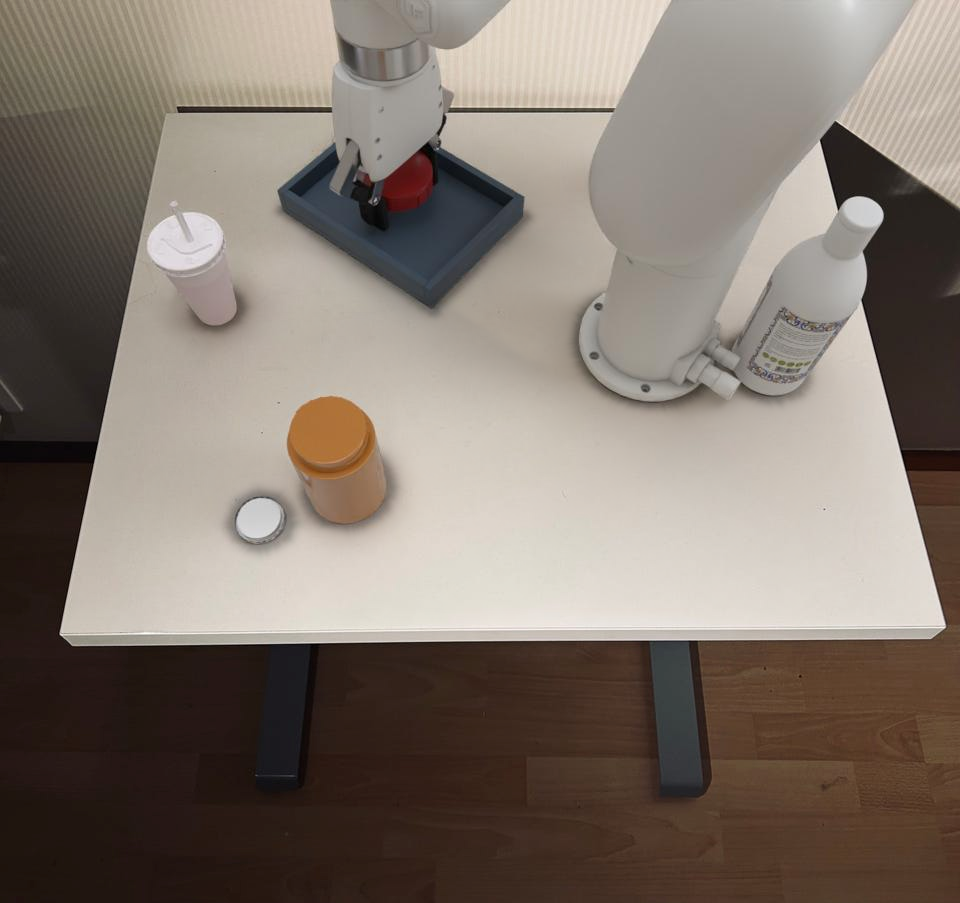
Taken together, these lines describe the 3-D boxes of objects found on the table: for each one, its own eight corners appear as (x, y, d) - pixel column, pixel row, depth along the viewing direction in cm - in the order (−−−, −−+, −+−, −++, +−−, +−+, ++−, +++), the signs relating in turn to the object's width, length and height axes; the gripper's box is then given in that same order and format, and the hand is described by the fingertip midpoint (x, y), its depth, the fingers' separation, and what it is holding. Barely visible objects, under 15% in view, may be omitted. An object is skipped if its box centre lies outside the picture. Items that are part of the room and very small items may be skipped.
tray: (523, 216, 81) (524, 196, 78) (431, 308, 76) (430, 290, 73) (377, 129, 86) (375, 108, 84) (282, 210, 81) (276, 190, 78)
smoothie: (238, 343, 74) (191, 240, 61) (172, 331, 74) (112, 226, 62) (260, 288, 77) (219, 179, 64) (197, 277, 77) (144, 166, 65)
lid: (347, 187, 77) (344, 173, 76) (395, 148, 80) (393, 133, 78) (400, 223, 76) (399, 209, 74) (447, 181, 78) (447, 167, 76)
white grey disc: (261, 553, 65) (259, 550, 64) (226, 525, 66) (223, 522, 65) (295, 516, 66) (293, 513, 66) (259, 489, 67) (258, 486, 67)
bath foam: (817, 390, 72) (932, 241, 54) (745, 404, 72) (838, 258, 54) (787, 328, 75) (887, 167, 57) (718, 341, 75) (797, 182, 57)
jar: (402, 481, 68) (391, 422, 58) (350, 539, 66) (330, 487, 56) (345, 438, 70) (325, 374, 60) (292, 493, 67) (263, 435, 58)
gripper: (418, -34, 67) (426, 134, 84) (272, 76, 61) (312, 234, 77) (488, 3, 66) (483, 167, 82) (345, 121, 59) (370, 273, 75)
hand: (400, 199), depth 79 cm, fingers closed on lid, 6 cm apart
